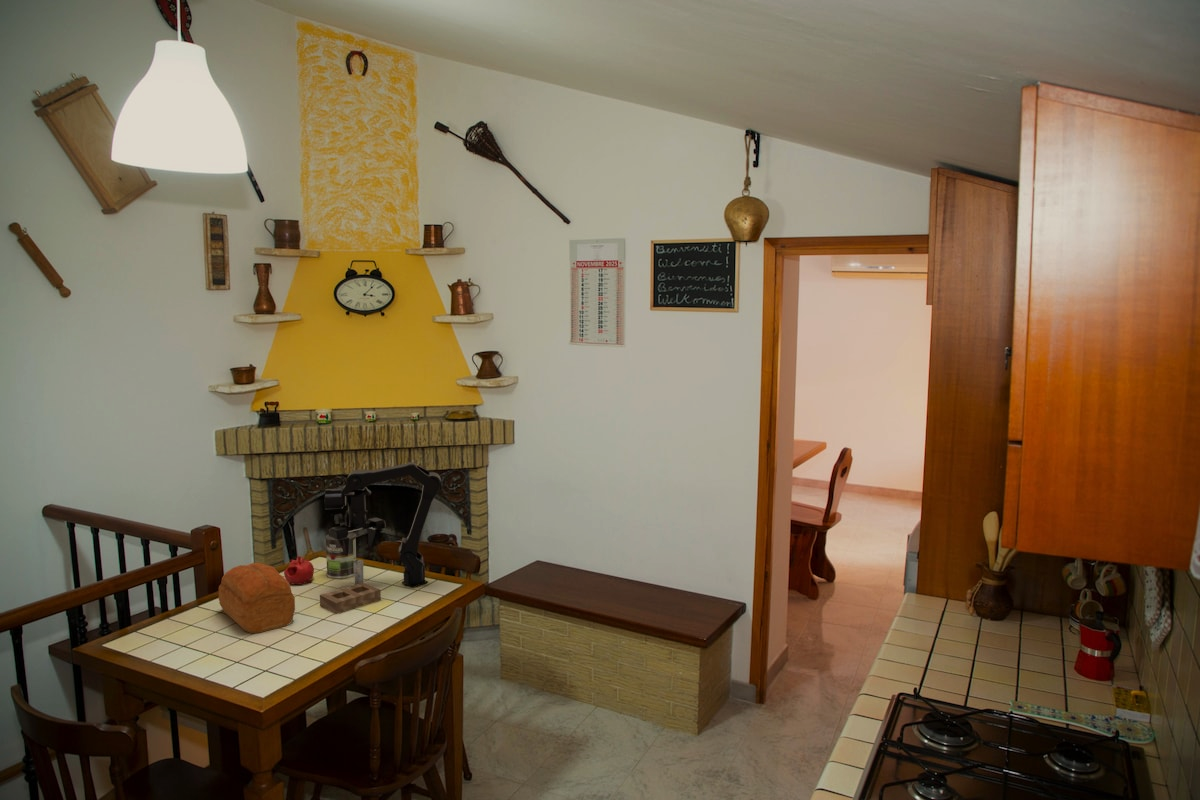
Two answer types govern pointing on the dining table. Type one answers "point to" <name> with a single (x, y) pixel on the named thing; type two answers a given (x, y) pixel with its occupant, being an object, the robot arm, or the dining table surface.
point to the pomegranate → (299, 571)
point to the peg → (358, 571)
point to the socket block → (350, 597)
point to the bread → (257, 597)
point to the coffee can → (340, 557)
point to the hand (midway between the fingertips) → (358, 552)
